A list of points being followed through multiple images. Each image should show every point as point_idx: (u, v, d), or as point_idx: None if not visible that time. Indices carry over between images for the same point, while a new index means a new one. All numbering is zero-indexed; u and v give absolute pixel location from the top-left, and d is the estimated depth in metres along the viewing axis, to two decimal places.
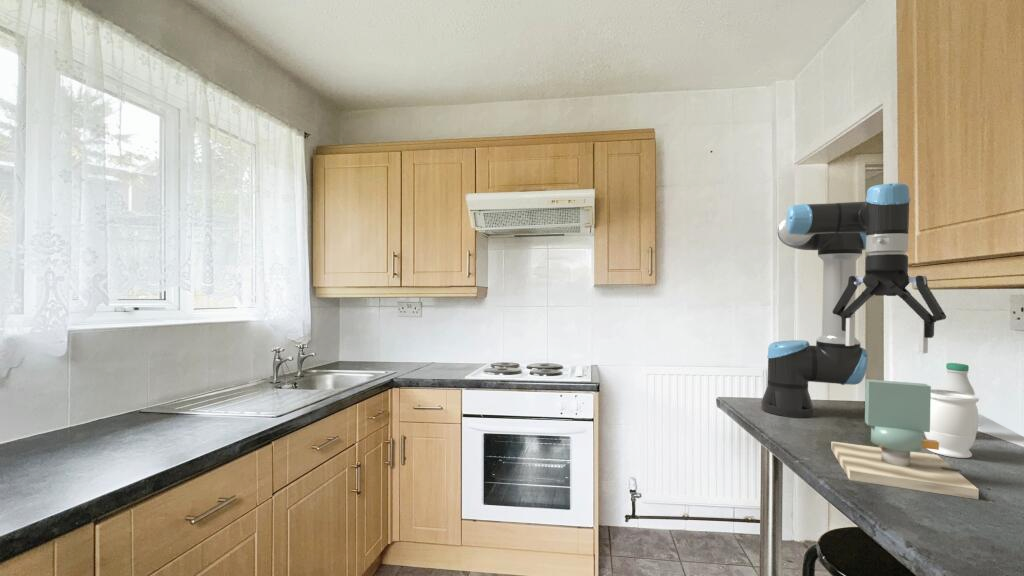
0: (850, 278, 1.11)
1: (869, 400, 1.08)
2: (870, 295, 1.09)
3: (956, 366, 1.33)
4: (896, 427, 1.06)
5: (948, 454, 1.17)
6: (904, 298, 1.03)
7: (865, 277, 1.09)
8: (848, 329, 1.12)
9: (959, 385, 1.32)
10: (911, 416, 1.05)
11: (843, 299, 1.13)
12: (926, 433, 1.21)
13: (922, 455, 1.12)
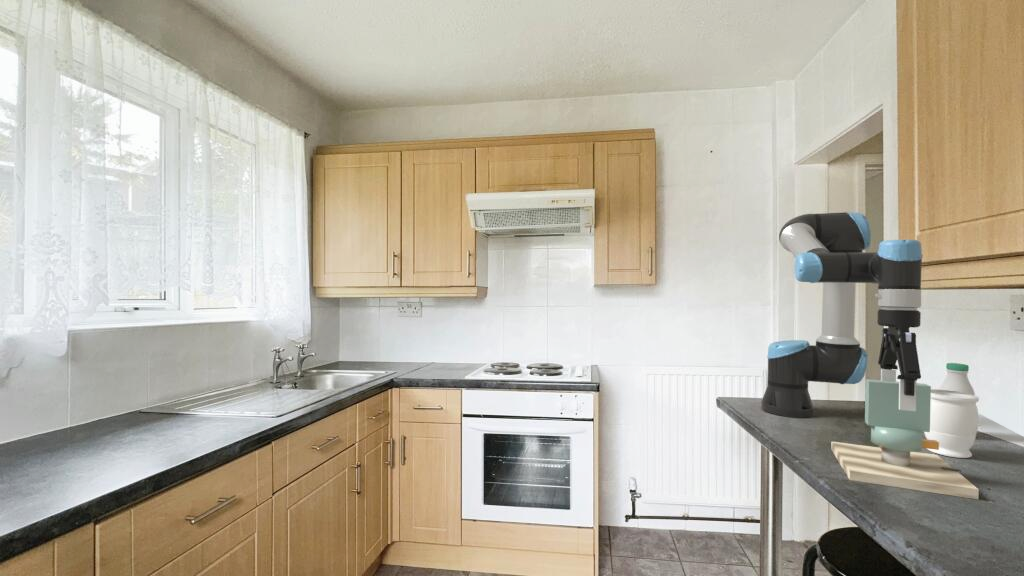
0: None
1: (869, 400, 1.08)
2: None
3: (956, 366, 1.33)
4: (896, 427, 1.06)
5: (948, 454, 1.17)
6: (896, 353, 1.04)
7: (887, 330, 1.11)
8: None
9: (959, 385, 1.32)
10: (911, 416, 1.05)
11: (881, 350, 1.15)
12: (926, 433, 1.21)
13: (922, 455, 1.12)
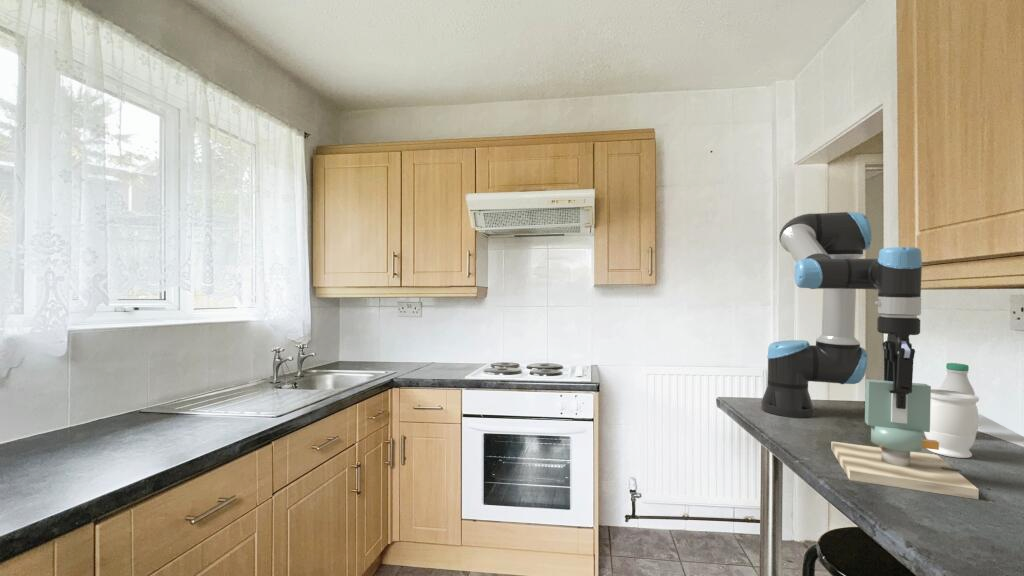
0: (882, 344, 1.13)
1: (869, 400, 1.08)
2: (897, 358, 1.08)
3: (956, 366, 1.33)
4: (896, 427, 1.06)
5: (948, 454, 1.17)
6: (893, 363, 1.06)
7: (887, 338, 1.11)
8: None
9: (959, 385, 1.32)
10: (911, 416, 1.05)
11: (884, 366, 1.12)
12: (926, 433, 1.21)
13: (922, 455, 1.12)
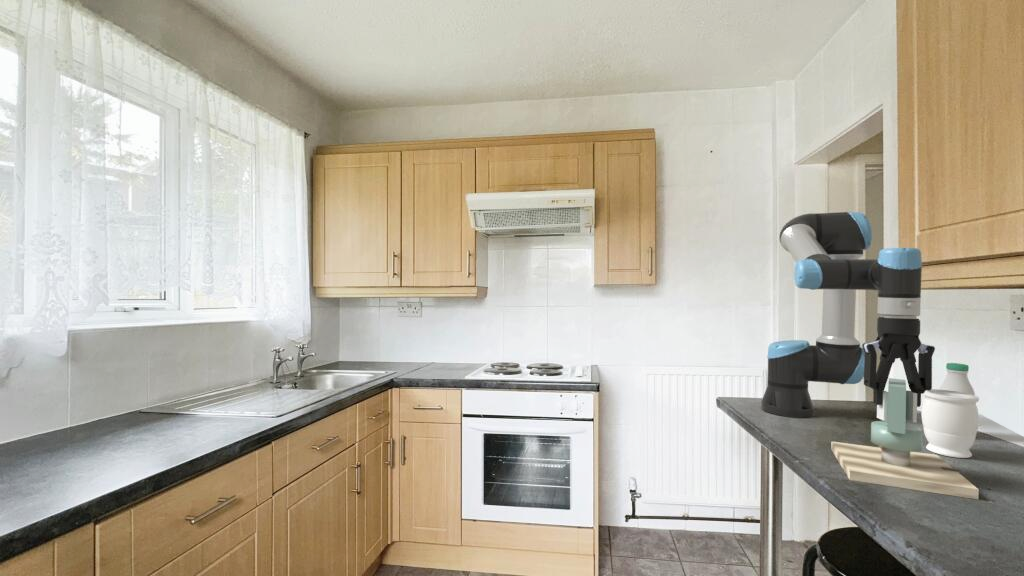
0: (870, 347, 1.07)
1: (905, 407, 1.02)
2: None
3: (956, 366, 1.33)
4: (904, 427, 1.06)
5: (948, 454, 1.17)
6: (911, 364, 1.06)
7: (882, 341, 1.07)
8: (887, 403, 1.07)
9: (959, 385, 1.32)
10: None
11: (874, 370, 1.07)
12: (926, 433, 1.21)
13: (922, 455, 1.12)
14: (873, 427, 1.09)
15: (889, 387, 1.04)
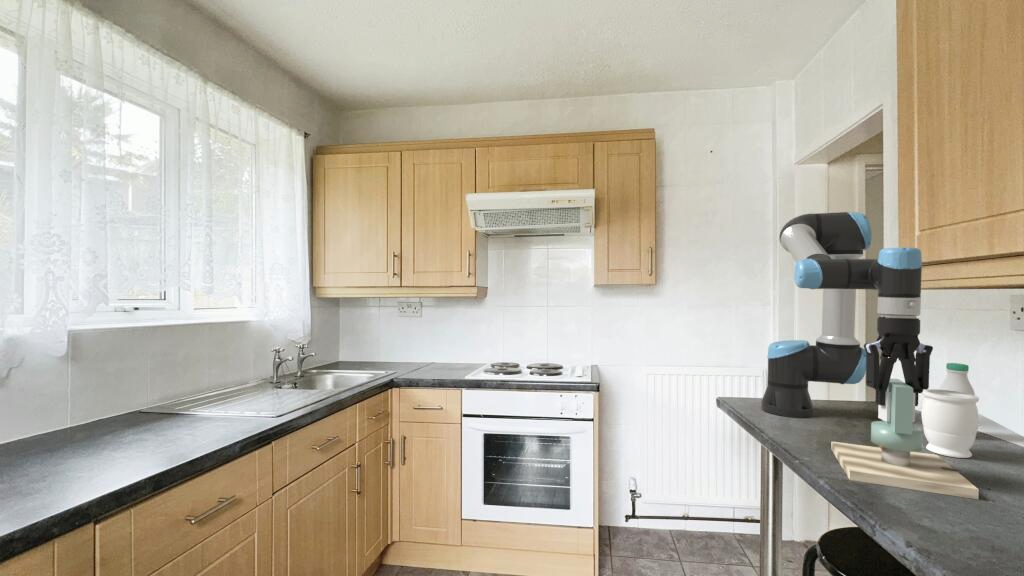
0: (873, 347, 1.06)
1: (912, 408, 1.02)
2: None
3: (956, 366, 1.33)
4: None
5: (948, 454, 1.17)
6: (910, 364, 1.06)
7: (884, 341, 1.07)
8: (889, 404, 1.06)
9: (959, 385, 1.32)
10: None
11: (877, 370, 1.07)
12: (926, 433, 1.21)
13: (922, 455, 1.12)
14: (876, 428, 1.08)
15: (896, 388, 1.03)
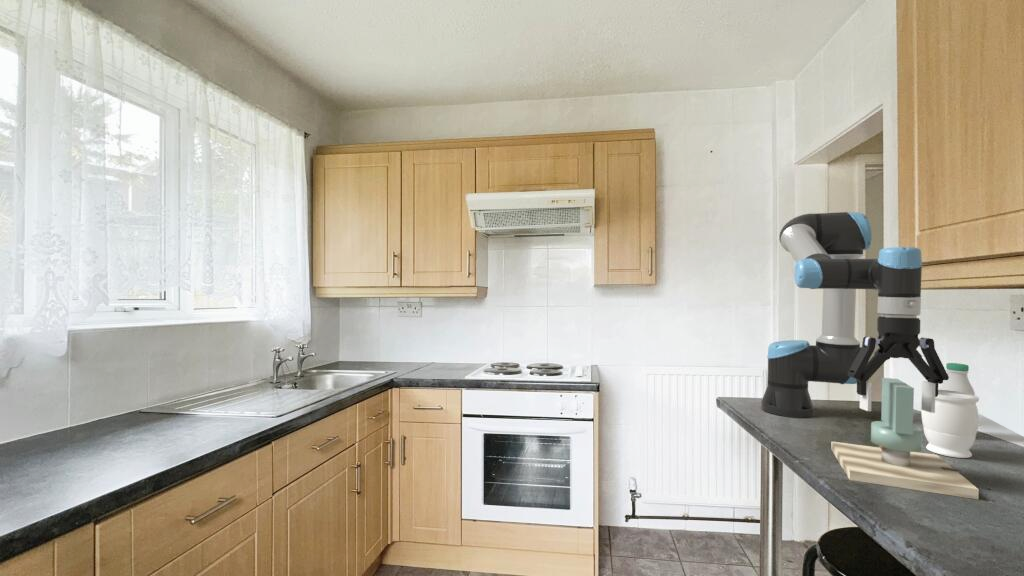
0: (872, 340, 1.06)
1: (912, 408, 1.02)
2: None
3: (956, 366, 1.33)
4: None
5: (948, 454, 1.17)
6: (919, 360, 1.06)
7: (885, 339, 1.06)
8: (870, 393, 1.06)
9: (959, 385, 1.32)
10: None
11: (865, 362, 1.07)
12: (926, 433, 1.21)
13: (922, 455, 1.12)
14: (876, 428, 1.08)
15: (897, 388, 1.03)
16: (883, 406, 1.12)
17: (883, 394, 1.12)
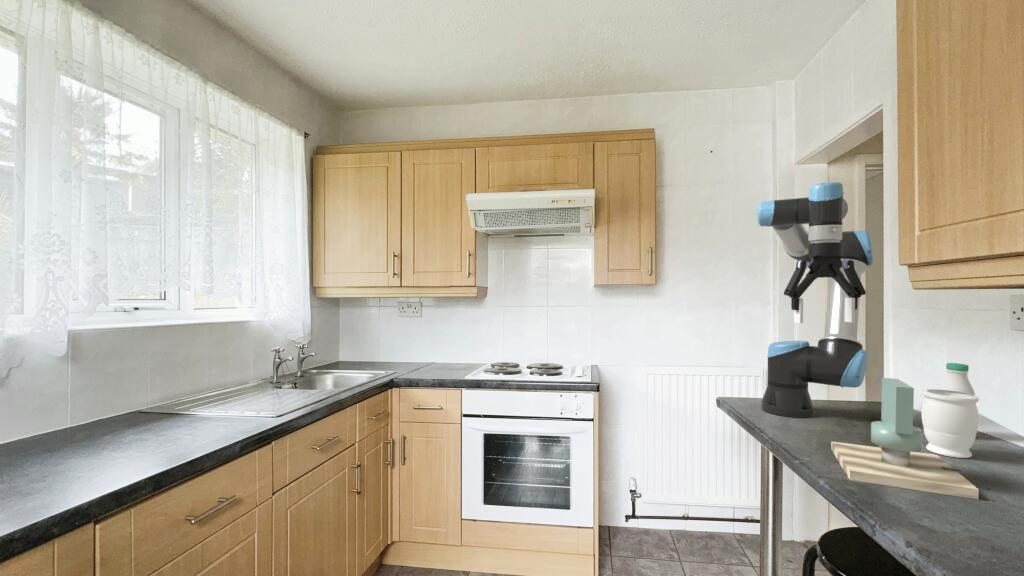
0: (803, 263, 1.25)
1: (912, 408, 1.02)
2: None
3: (956, 366, 1.33)
4: None
5: (948, 454, 1.17)
6: (841, 279, 1.25)
7: (813, 262, 1.25)
8: (802, 308, 1.26)
9: (959, 385, 1.32)
10: None
11: (797, 282, 1.25)
12: (926, 433, 1.21)
13: (922, 455, 1.12)
14: (876, 428, 1.08)
15: (897, 388, 1.03)
16: (883, 406, 1.12)
17: (883, 394, 1.12)
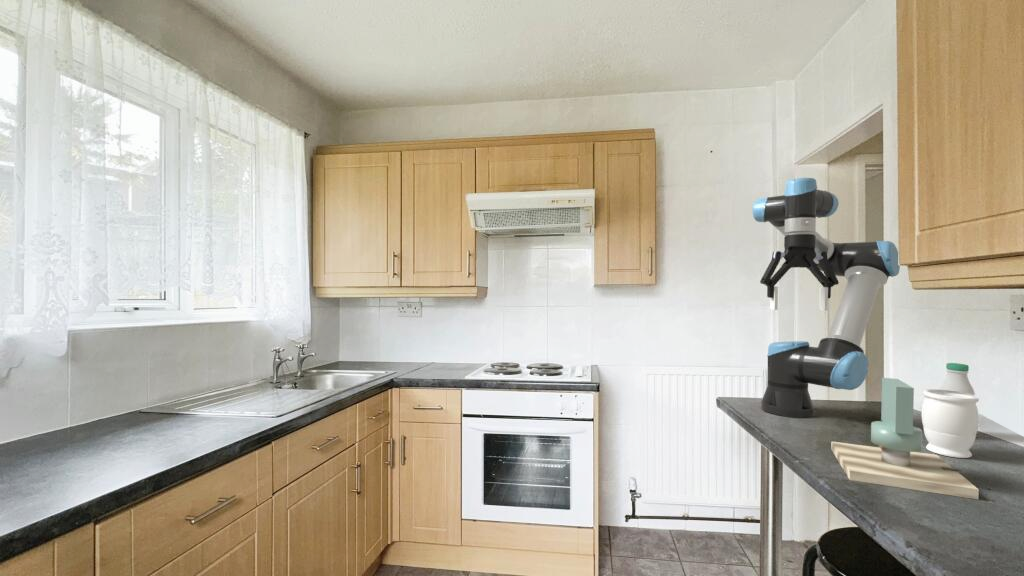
0: (778, 253, 1.33)
1: (912, 408, 1.02)
2: None
3: (956, 366, 1.33)
4: None
5: (948, 454, 1.17)
6: (815, 269, 1.33)
7: (788, 252, 1.33)
8: (777, 296, 1.33)
9: (959, 385, 1.32)
10: None
11: (772, 271, 1.33)
12: (926, 433, 1.21)
13: (922, 455, 1.12)
14: (876, 428, 1.08)
15: (897, 388, 1.03)
16: (883, 406, 1.12)
17: (883, 394, 1.12)
